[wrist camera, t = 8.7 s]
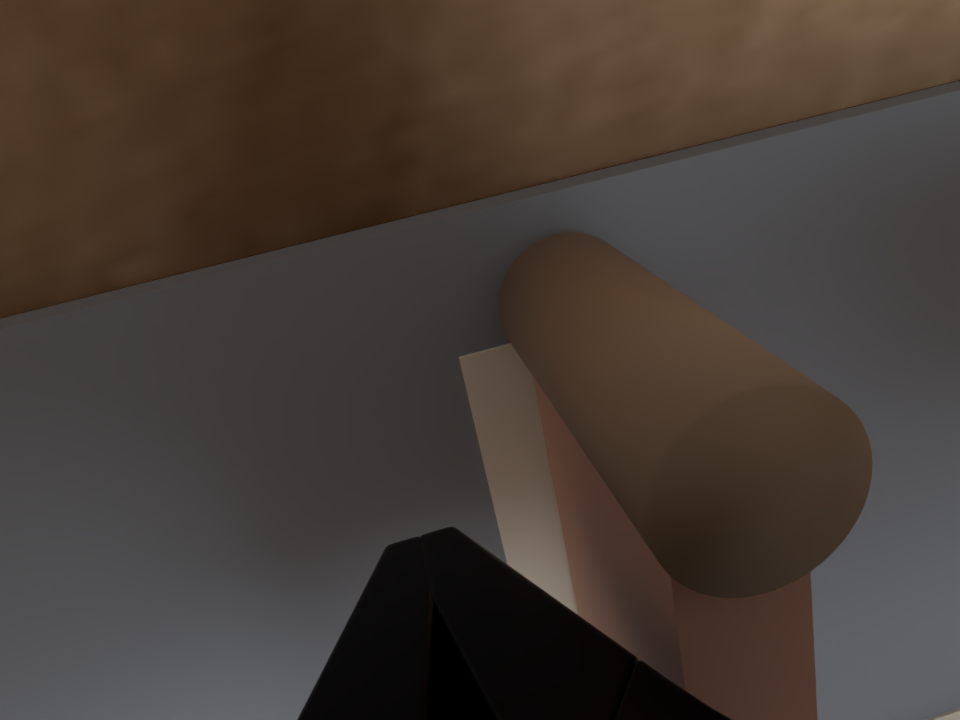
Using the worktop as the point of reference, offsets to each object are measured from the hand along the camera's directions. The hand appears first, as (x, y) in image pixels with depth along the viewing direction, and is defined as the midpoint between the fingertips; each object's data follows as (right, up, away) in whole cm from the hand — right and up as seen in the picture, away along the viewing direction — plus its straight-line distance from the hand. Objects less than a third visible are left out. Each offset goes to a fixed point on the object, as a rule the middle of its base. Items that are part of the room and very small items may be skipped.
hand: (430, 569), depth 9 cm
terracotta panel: (+2, -1, +2) cm, 3 cm away
